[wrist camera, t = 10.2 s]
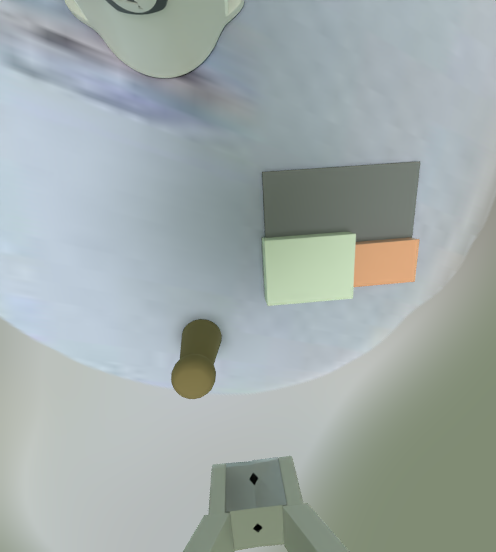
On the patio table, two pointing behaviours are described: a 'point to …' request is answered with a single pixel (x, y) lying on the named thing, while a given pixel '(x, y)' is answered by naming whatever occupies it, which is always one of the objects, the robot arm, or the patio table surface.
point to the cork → (197, 359)
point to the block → (385, 261)
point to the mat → (342, 201)
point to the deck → (308, 268)
